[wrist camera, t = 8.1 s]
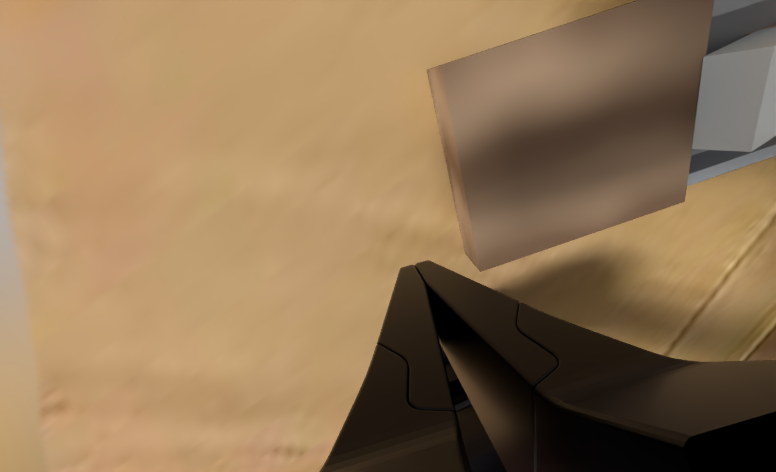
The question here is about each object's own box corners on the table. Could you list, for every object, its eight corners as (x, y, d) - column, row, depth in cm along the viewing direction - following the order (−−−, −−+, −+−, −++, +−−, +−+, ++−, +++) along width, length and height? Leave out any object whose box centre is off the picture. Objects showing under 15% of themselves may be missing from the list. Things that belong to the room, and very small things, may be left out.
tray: (807, 124, 22) (858, 127, 20) (650, 177, 22) (685, 186, 20) (860, -53, 18) (934, -74, 16) (665, 11, 17) (712, -1, 15)
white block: (740, 119, 20) (802, 118, 17) (691, 148, 18) (751, 151, 16) (757, 30, 17) (830, 16, 15) (703, 56, 16) (774, 46, 14)
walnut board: (649, 191, 22) (684, 201, 20) (465, 253, 22) (480, 271, 20) (667, -10, 17) (717, -26, 15) (426, 69, 17) (441, 65, 14)
